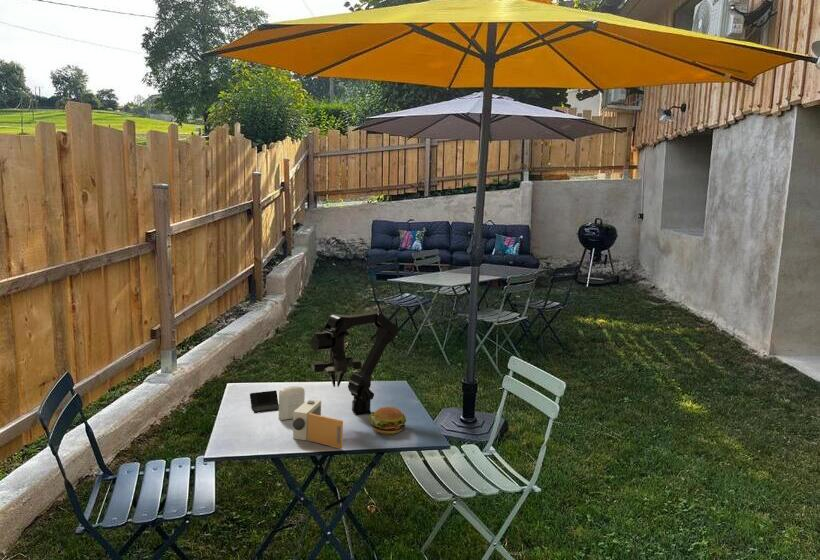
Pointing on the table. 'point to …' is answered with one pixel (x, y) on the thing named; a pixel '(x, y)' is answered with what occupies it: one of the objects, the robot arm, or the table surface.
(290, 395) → the cream rounded slab
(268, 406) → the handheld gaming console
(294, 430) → the action camera
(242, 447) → the table surface
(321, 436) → the side door
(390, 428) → the food
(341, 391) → the table surface
